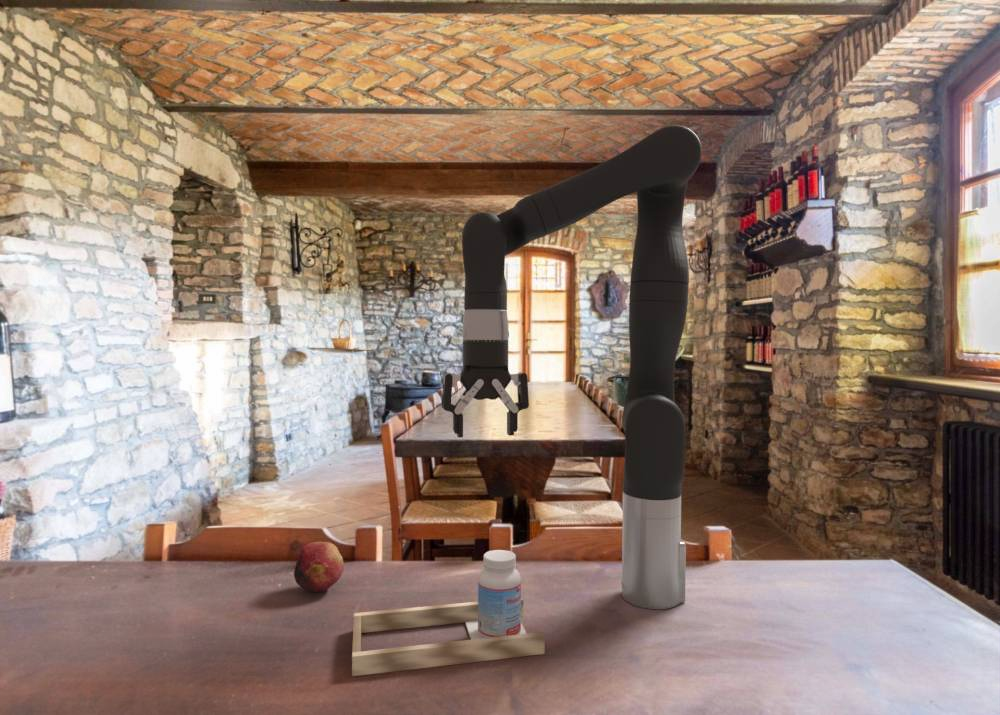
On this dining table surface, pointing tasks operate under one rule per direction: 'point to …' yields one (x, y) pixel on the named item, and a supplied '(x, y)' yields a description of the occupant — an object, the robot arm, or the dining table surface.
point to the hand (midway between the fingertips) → (485, 435)
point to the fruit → (318, 566)
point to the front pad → (473, 629)
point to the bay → (439, 651)
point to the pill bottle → (499, 595)
